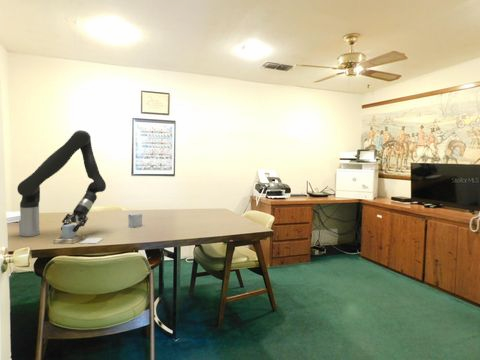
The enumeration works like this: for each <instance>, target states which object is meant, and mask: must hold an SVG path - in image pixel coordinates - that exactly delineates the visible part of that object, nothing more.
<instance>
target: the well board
mask: <svg viewBox="0 0 480 360" xmlns="http://www.w3.org/2000/svg"><path fill="white" fill-rule="evenodd" d="M82 239H84V234H79V233H78V234H76V233H75V238H74V239H62V234H61V235H60V236H57V237H55V238H53V240H52V241H53V244H63V245H65V244H66V245H67V244H70V245H73V244H76V243H78V242H79V241H81V240H82Z"/></svg>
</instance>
